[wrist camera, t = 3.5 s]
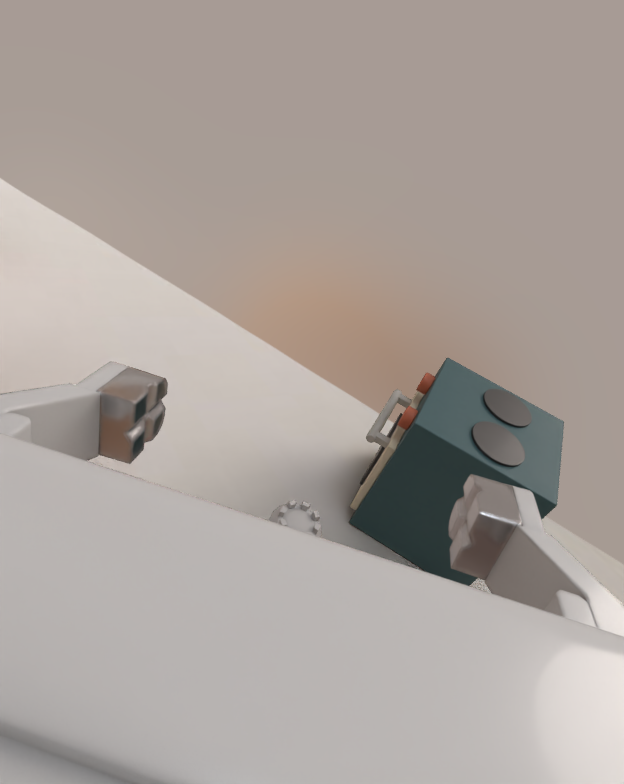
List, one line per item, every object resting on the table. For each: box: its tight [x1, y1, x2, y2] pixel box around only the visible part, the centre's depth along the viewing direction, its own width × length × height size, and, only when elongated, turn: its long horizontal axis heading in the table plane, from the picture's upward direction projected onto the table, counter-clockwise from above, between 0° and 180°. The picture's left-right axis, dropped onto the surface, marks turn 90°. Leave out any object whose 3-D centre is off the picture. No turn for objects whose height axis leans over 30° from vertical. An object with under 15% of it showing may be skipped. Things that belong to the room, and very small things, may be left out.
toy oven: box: [350, 358, 564, 586], centre depth 39 cm, size 12×10×12 cm
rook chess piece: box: [269, 500, 322, 537], centre depth 32 cm, size 4×4×8 cm
